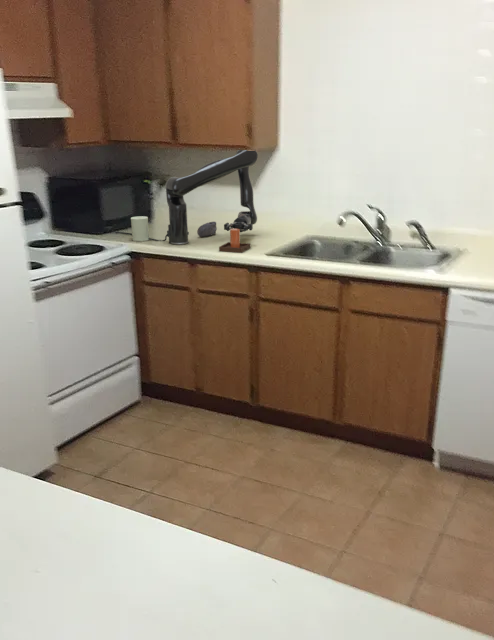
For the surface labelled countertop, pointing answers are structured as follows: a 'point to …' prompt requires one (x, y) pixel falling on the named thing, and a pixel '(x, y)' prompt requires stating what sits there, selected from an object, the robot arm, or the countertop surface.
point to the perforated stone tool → (207, 229)
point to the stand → (242, 248)
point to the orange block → (235, 238)
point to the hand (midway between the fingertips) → (235, 229)
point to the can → (140, 228)
